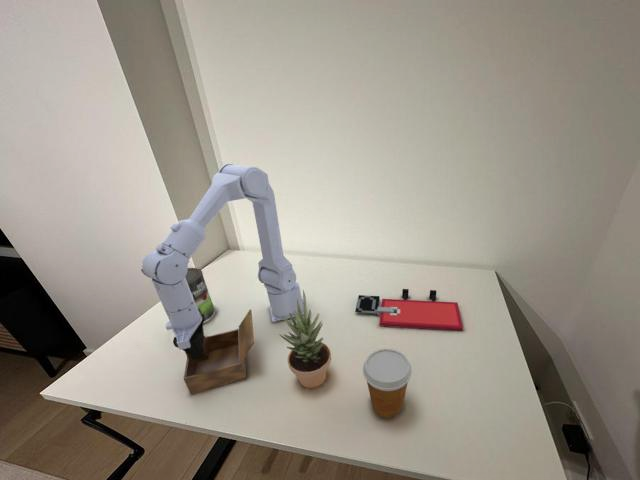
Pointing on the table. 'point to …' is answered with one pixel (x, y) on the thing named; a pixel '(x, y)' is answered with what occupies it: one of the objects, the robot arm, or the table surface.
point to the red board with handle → (413, 312)
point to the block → (205, 351)
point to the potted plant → (307, 349)
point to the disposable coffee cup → (387, 380)
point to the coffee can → (200, 293)
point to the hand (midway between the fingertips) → (198, 351)
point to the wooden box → (217, 364)
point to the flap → (246, 335)
